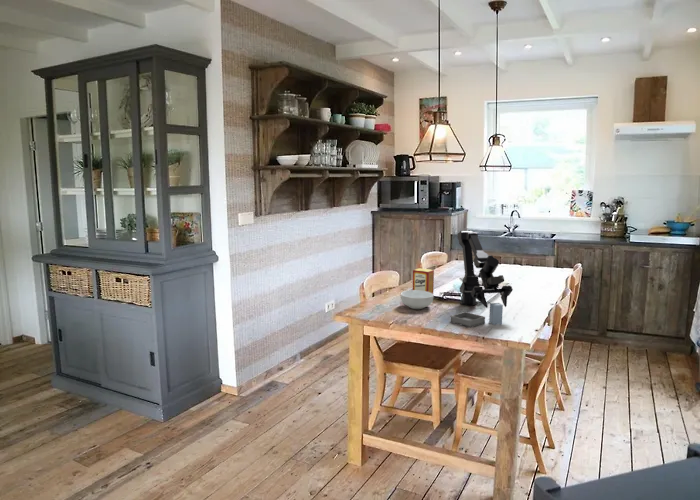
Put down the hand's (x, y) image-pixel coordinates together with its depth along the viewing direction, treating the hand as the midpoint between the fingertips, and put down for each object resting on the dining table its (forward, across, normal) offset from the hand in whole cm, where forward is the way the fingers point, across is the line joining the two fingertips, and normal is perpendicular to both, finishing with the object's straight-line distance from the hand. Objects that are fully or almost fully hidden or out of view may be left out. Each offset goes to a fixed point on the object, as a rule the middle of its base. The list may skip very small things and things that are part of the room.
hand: (496, 306), depth 244 cm
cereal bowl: (-18, -29, +29) cm, 44 cm away
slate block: (+5, 0, +6) cm, 8 cm away
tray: (+4, -13, +7) cm, 15 cm away
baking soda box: (-31, -20, +42) cm, 56 cm away
